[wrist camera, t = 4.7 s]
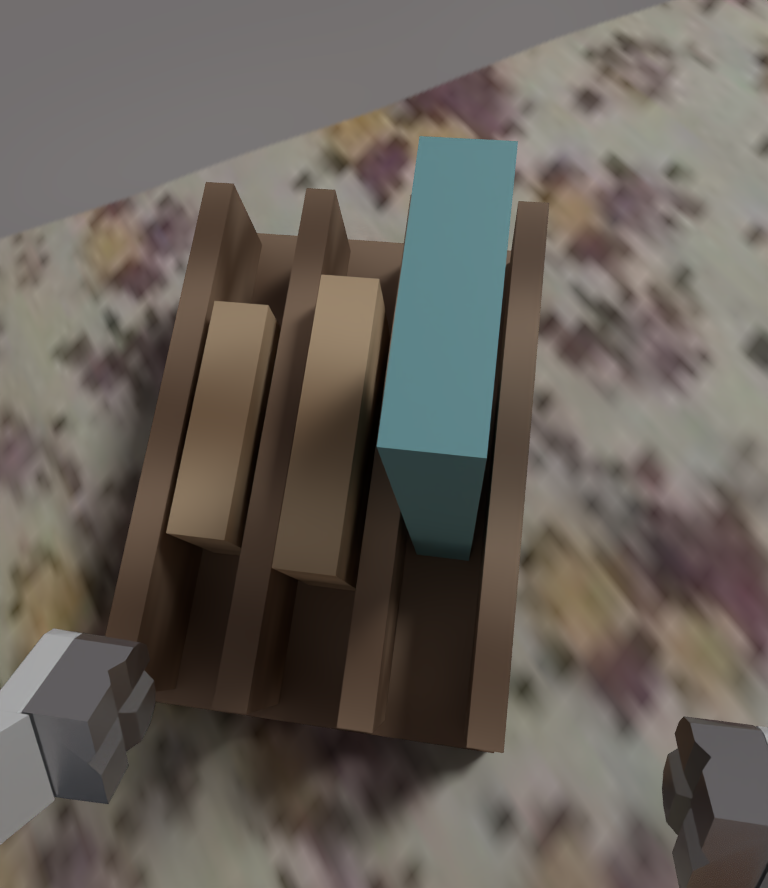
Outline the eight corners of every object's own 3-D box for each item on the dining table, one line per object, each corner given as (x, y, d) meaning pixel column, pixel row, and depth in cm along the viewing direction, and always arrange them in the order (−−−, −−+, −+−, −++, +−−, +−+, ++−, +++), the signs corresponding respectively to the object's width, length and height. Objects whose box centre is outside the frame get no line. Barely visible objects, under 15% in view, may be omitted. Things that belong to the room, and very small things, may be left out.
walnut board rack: (250, 251, 31) (208, 169, 26) (533, 271, 30) (550, 190, 24) (161, 697, 26) (88, 708, 21) (491, 747, 25) (502, 772, 20)
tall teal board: (436, 392, 27) (419, 136, 14) (485, 396, 27) (517, 141, 13) (416, 554, 26) (376, 447, 12) (468, 560, 25) (487, 458, 12)
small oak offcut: (251, 354, 28) (214, 300, 24) (296, 358, 28) (268, 305, 24) (213, 552, 26) (166, 533, 22) (262, 558, 26) (224, 540, 22)
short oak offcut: (346, 345, 28) (321, 274, 23) (393, 350, 28) (379, 278, 22) (309, 585, 26) (271, 567, 20) (360, 591, 25) (335, 576, 20)
